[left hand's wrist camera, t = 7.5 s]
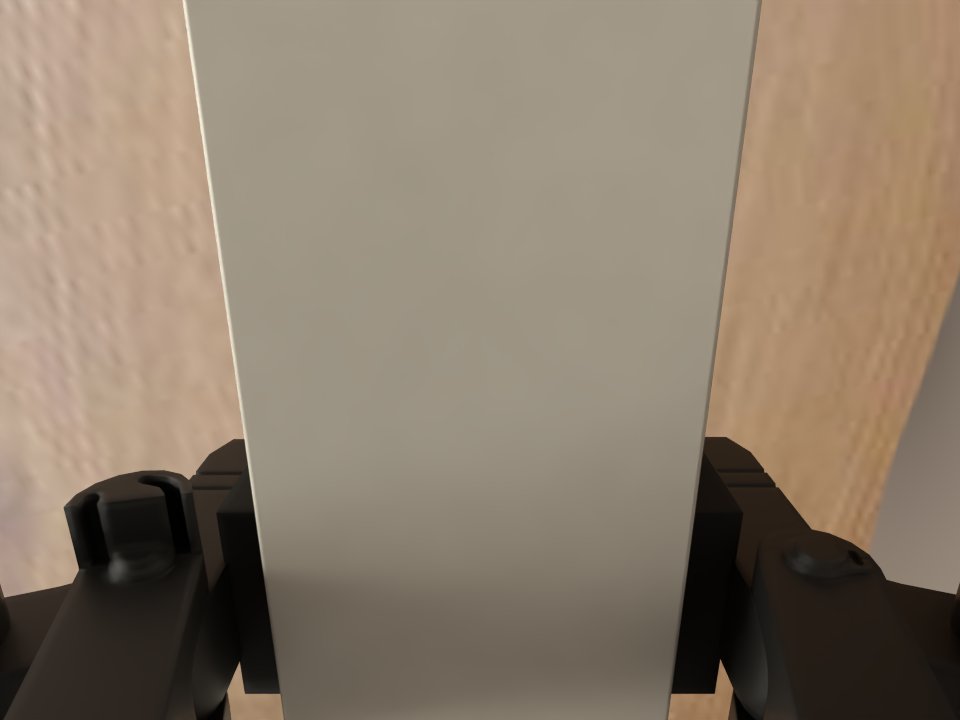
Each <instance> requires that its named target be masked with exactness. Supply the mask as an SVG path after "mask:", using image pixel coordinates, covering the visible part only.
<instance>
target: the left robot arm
mask: <svg viewBox="0 0 960 720" xmlns="http://www.w3.org/2000/svg"><path fill="white" fill-rule="evenodd" d="M64 511H65V515H66V519H67V523H68V527H69V531H70V535H71V539H72V542H73V546H74V550H75V554H76V558H77V562H78V566H79V571H78V573H77V575H76V577H75V579H74V581H73V583H71V584H68V585H64V586H60V587H56V588H51V589H46V590H41V591H36V592H31V593H26V594H21V595H16V596H11V597H6V598H4V595H3V592H2V589H1V585H0V720H231V713H230V705H229V700H228V694H227V689H228V687H229V685H230V682H231V680H232V678H233V675H234V673H235V671H236V669H237V666H238V664H239V662H240V665H241V672H242V678H243V684H244V690H245V694H280V687H279V680H278V673H277V666H276V659H275V652H274V644H273V637H272V630H271V623H270V616H269V609H268V602H267V595H266V588H265V581H264V574H263V567H262V560H261V552H260V545H259V538H258V531H257V524H256V517H255V510H254V503H253V496H252V489H251V482H250V475H249V468H248V461H247V453H246V446H245V439H233V440H232V441H230V442H229V443H227V444H225V445H224V446H222V447H220V448H219V449H217V450H216V451H214V452H212V453H211V454H209V456H208V457H207V458H206V460H205V461H204V462H203V463H202V465H201V466H200V467H199V468H198V470H197V471H196V475H193V476H192V477H191V479H190V480H188V479H187V478H185V477H184V476H183V475H182V474H178V473H174V472H169V471H165V470H158V471H139V472H133V473H128V474H123V475H118V476H115V477H113V478H110V479H107V480H104V481H101V482H98V483H96V484H94V485H92V486H90V487H89V488H87V489H85V490H83V491H82V492H80V493H78V494H76V495H75V496H74V497H73V498H72V499H71V500H70V501H69V502H68V503H67V504H66V505H65V506H64ZM720 659H721V661H722V664H723V666H724V668H725V670H726V673H727V675H728V677H729V680H730V682H731V684H732V686H733V694H732V700H731V705H730V711H729V717H728V720H960V584H959V587H958V590H957V594H956V595H955V594H950V593H945V592H940V591H935V590H930V589H925V588H920V587H915V586H910V585H904V584H900V583H896V582H893V581H889V580H886V578H885V576H884V574H883V572H882V570H881V568H880V567H879V566H878V565H877V564H876V562H875V561H874V560H873V559H872V558H871V556H870V555H869V554H867V553H866V552H864V551H863V550H861V549H860V548H858V547H857V546H856V545H854V544H853V543H851V542H849V541H846V540H844V539H842V538H839V537H837V536H834V535H832V534H830V533H826V532H821V531H817V530H812V529H811V528H810V527H809V525H808V524H807V523H806V522H805V520H804V519H803V518H802V517H801V515H800V514H799V513H798V512H797V510H796V509H795V508H794V506H793V505H792V504H791V503H790V501H789V500H788V499H787V498H786V496H785V495H784V494H783V493H782V491H781V490H780V489H779V488H778V487H776V486H775V482H774V481H773V480H772V479H771V477H770V476H769V475H768V474H767V473H764V469H763V467H762V466H761V465H760V463H759V462H758V461H757V460H756V458H755V457H754V456H753V455H752V453H751V452H750V451H748V450H746V449H745V448H743V447H742V446H740V445H738V444H737V443H735V442H733V441H732V440H730V439H729V438H727V437H705V439H704V447H703V455H702V462H701V470H700V477H699V485H698V493H697V500H696V508H695V516H694V523H693V531H692V539H691V546H690V554H689V562H688V569H687V577H686V584H685V592H684V600H683V607H682V615H681V623H680V630H679V638H678V646H677V653H676V661H675V669H674V676H673V684H672V691H671V694H715V688H716V682H717V676H718V669H719V663H720Z"/></svg>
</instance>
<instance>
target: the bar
mask: <svg viewBox="0 0 960 720" xmlns="http://www.w3.org/2000/svg"><path fill="white" fill-rule="evenodd" d="M182 1H183V8H184V15H185V22H186V29H187V36H188V43H189V50H190V57H191V64H192V71H193V78H194V85H195V93H196V100H197V107H198V114H199V121H200V128H201V135H202V142H203V149H204V156H205V163H206V170H207V177H208V185H209V192H210V199H211V206H212V213H213V220H214V227H215V234H216V241H217V248H218V255H219V262H220V269H221V277H222V284H223V291H224V298H225V305H226V312H227V319H228V326H229V333H230V340H231V347H232V354H233V361H234V369H235V376H236V383H237V390H238V397H239V404H240V411H241V418H242V425H243V432H244V439H245V446H246V453H247V461H248V468H249V475H250V482H251V489H252V496H253V503H254V510H255V517H256V524H257V531H258V538H259V545H260V552H261V560H262V567H263V574H264V581H265V588H266V595H267V602H268V609H269V616H270V623H271V630H272V637H273V644H274V652H275V659H276V666H277V673H278V680H279V687H280V694H281V701H282V708H283V715H284V720H668V714H669V707H670V699H671V691H672V684H673V676H674V669H675V661H676V653H677V646H678V638H679V630H680V623H681V615H682V607H683V600H684V592H685V584H686V577H687V569H688V562H689V554H690V546H691V539H692V531H693V523H694V516H695V508H696V500H697V493H698V485H699V477H700V470H701V462H702V455H703V447H704V439H705V432H706V424H707V416H708V409H709V401H710V393H711V386H712V378H713V370H714V363H715V355H716V348H717V340H718V332H719V325H720V317H721V309H722V302H723V294H724V286H725V279H726V271H727V263H728V256H729V248H730V241H731V233H732V225H733V218H734V210H735V202H736V195H737V187H738V179H739V172H740V164H741V156H742V149H743V141H744V134H745V126H746V118H747V111H748V103H749V95H750V88H751V80H752V72H753V65H754V57H755V49H756V42H757V34H758V26H759V19H760V11H761V4H762V0H182Z"/></svg>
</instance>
